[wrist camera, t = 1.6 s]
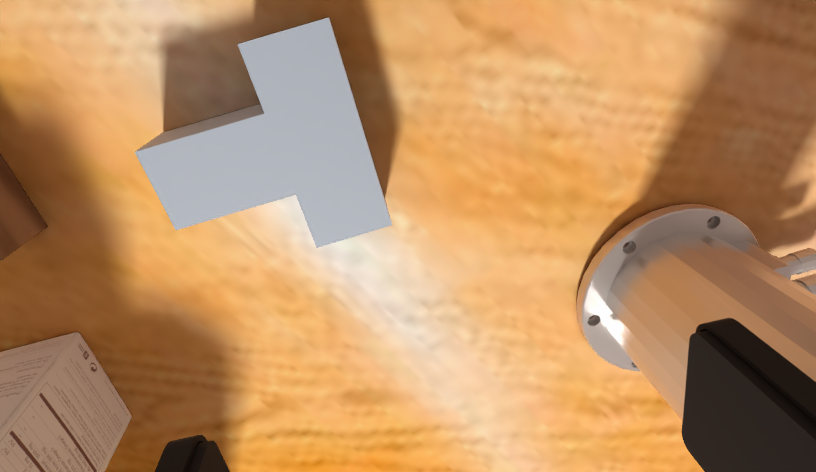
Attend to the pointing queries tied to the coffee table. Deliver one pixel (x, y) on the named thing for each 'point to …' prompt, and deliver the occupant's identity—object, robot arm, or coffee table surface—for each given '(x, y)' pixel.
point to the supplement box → (57, 408)
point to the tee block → (277, 144)
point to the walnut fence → (15, 213)
